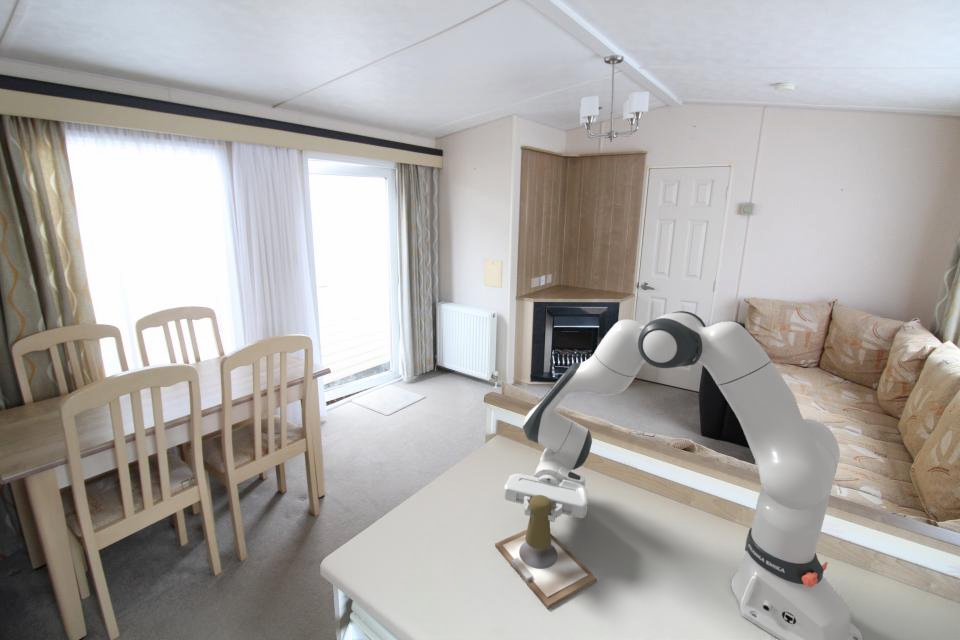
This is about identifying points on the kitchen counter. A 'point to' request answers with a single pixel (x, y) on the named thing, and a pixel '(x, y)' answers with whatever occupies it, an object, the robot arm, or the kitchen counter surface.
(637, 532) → the kitchen counter surface
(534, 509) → the cork
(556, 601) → the clipboard
